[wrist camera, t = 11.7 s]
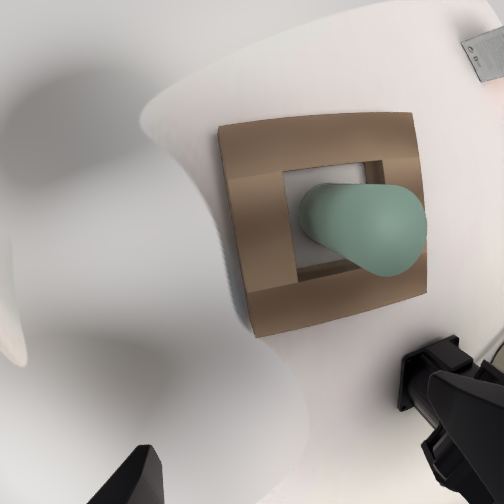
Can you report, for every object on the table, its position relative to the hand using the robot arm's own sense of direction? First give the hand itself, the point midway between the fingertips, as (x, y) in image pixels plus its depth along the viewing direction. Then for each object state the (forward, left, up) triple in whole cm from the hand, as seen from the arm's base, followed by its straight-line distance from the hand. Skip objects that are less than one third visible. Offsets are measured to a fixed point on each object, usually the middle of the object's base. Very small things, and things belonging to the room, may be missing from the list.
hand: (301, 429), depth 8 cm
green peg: (+4, -6, -13) cm, 15 cm away
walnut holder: (+4, -6, -13) cm, 15 cm away
